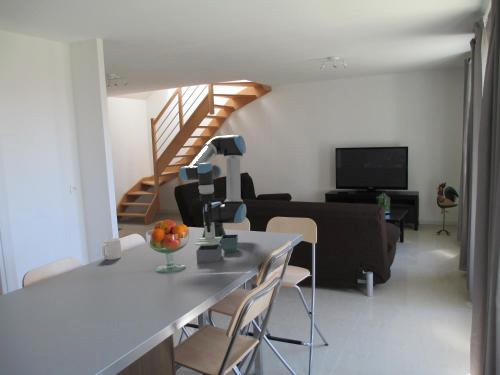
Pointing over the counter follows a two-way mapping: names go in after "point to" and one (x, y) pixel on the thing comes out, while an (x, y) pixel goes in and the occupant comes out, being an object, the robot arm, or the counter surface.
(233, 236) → the flower pot
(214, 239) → the lid
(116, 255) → the cup
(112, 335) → the counter surface
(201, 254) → the tub
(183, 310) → the counter surface
